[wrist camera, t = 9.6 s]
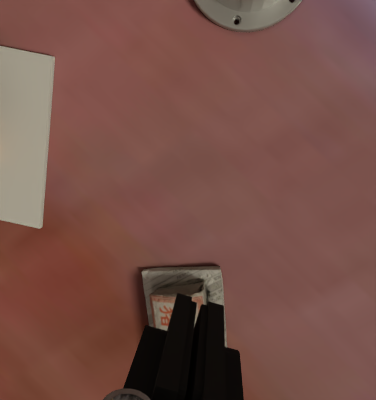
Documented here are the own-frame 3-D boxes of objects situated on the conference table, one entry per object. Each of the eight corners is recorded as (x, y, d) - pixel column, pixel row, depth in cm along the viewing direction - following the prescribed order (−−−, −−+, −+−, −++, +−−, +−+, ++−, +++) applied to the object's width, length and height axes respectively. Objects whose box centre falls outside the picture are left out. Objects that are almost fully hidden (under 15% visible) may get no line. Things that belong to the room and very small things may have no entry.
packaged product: (232, 414, 39) (152, 413, 40) (230, 382, 44) (159, 382, 45) (221, 282, 35) (133, 285, 36) (221, 262, 40) (142, 266, 41)
